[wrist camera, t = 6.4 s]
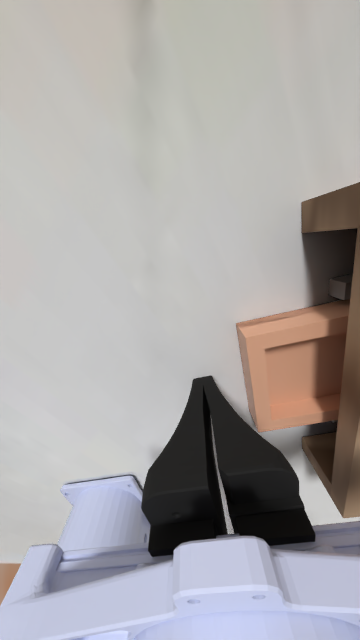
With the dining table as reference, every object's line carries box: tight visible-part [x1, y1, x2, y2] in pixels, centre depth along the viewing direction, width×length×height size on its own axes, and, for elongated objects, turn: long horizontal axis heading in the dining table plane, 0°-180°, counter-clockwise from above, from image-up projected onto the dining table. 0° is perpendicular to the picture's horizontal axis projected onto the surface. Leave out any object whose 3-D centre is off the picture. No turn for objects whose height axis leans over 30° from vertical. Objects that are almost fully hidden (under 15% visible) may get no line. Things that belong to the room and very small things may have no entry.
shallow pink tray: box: [236, 299, 350, 432], centre depth 12 cm, size 8×12×2 cm, turn 104°
